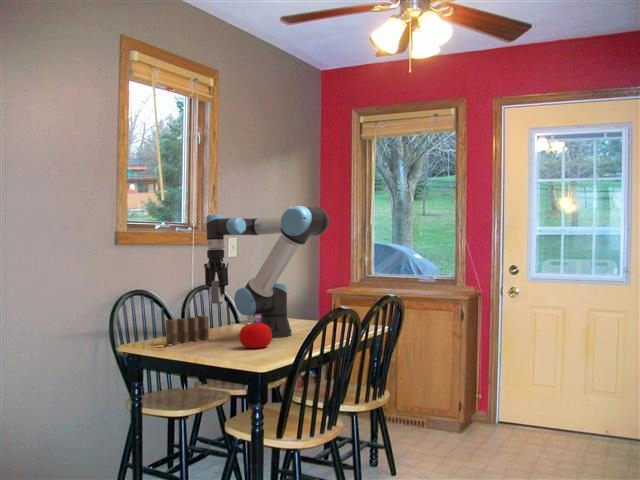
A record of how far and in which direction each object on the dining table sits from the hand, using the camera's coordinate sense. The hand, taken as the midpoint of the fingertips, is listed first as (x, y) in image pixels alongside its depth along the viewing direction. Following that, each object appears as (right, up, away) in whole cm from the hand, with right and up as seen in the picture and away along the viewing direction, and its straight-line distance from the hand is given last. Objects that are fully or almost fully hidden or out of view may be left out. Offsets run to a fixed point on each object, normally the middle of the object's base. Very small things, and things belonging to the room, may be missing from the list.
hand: (217, 301), depth 280 cm
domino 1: (-15, -15, -22) cm, 31 cm away
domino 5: (0, -1, 0) cm, 1 cm away
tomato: (+21, -15, -37) cm, 45 cm away
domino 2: (-11, -15, -18) cm, 26 cm away
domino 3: (-8, -15, -13) cm, 22 cm away
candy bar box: (+13, -16, +46) cm, 51 cm away
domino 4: (-4, -15, -9) cm, 19 cm away
